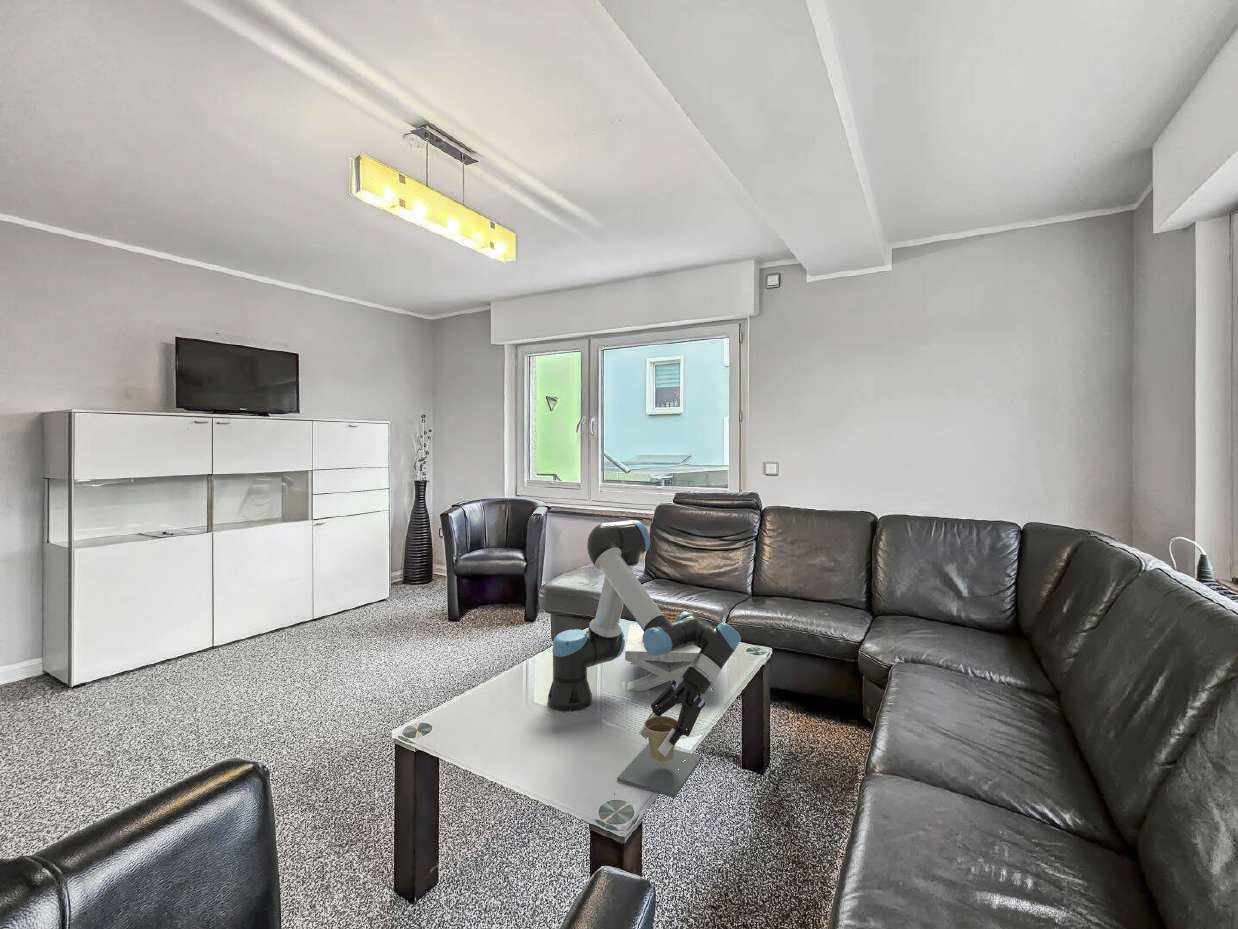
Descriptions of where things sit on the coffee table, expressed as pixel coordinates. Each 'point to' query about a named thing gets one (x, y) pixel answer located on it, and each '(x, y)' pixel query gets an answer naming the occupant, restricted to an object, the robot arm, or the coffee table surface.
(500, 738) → the coffee table surface
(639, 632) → the white x-leg stand
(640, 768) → the charcoal mat
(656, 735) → the flower pot
